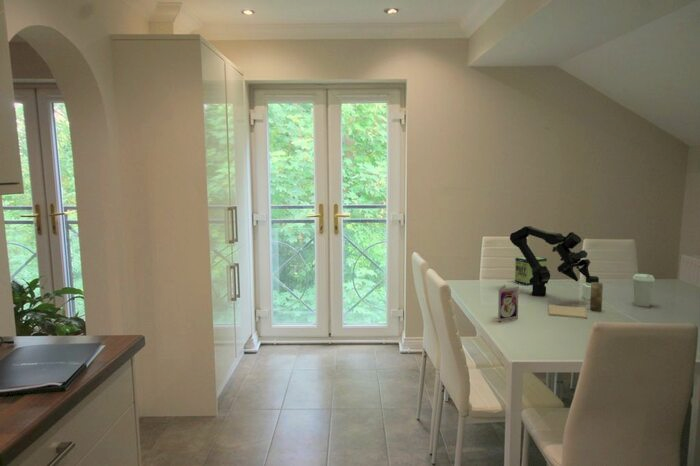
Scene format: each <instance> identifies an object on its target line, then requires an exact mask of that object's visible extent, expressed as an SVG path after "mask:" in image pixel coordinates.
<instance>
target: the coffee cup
mask: <svg viewBox="0 0 700 466" xmlns="http://www.w3.org/2000/svg"><path fill="white" fill-rule="evenodd" d="M631 279H632V281H633V297H634V299H633V301H634V305H635V306H638V307H645V308H648V307H650V306H651V302H652V296H653V295H652V294H653V288H654V282H655V281H656V279H655V277H654V275H653V274H648V273H636V274H634V275H633V276H632V278H631Z"/></svg>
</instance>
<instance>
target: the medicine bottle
mask: <svg viewBox="0 0 700 466" xmlns="http://www.w3.org/2000/svg"><path fill="white" fill-rule="evenodd" d="M599 278H600V277H598V276H597V275H590V279H588V278H586V277H585V283H583V284H582V298H584V299H585V300H586V301H590V296H591V283H592V282H598V283H600V279H599Z"/></svg>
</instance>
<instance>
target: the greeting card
mask: <svg viewBox="0 0 700 466" xmlns="http://www.w3.org/2000/svg"><path fill="white" fill-rule="evenodd" d="M519 288H520V287H519V286H514V287H508V288H506V284H504V285H502V286H501V287H500V288H499V289H498V307H497V309H498V310H497V311H498V313H497V322H498V323H500V322H499V321H503V322H507V321H506V320H509V321H514V320H513V319H515V320H519V294H520V293H519V290H520V289H519Z"/></svg>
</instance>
